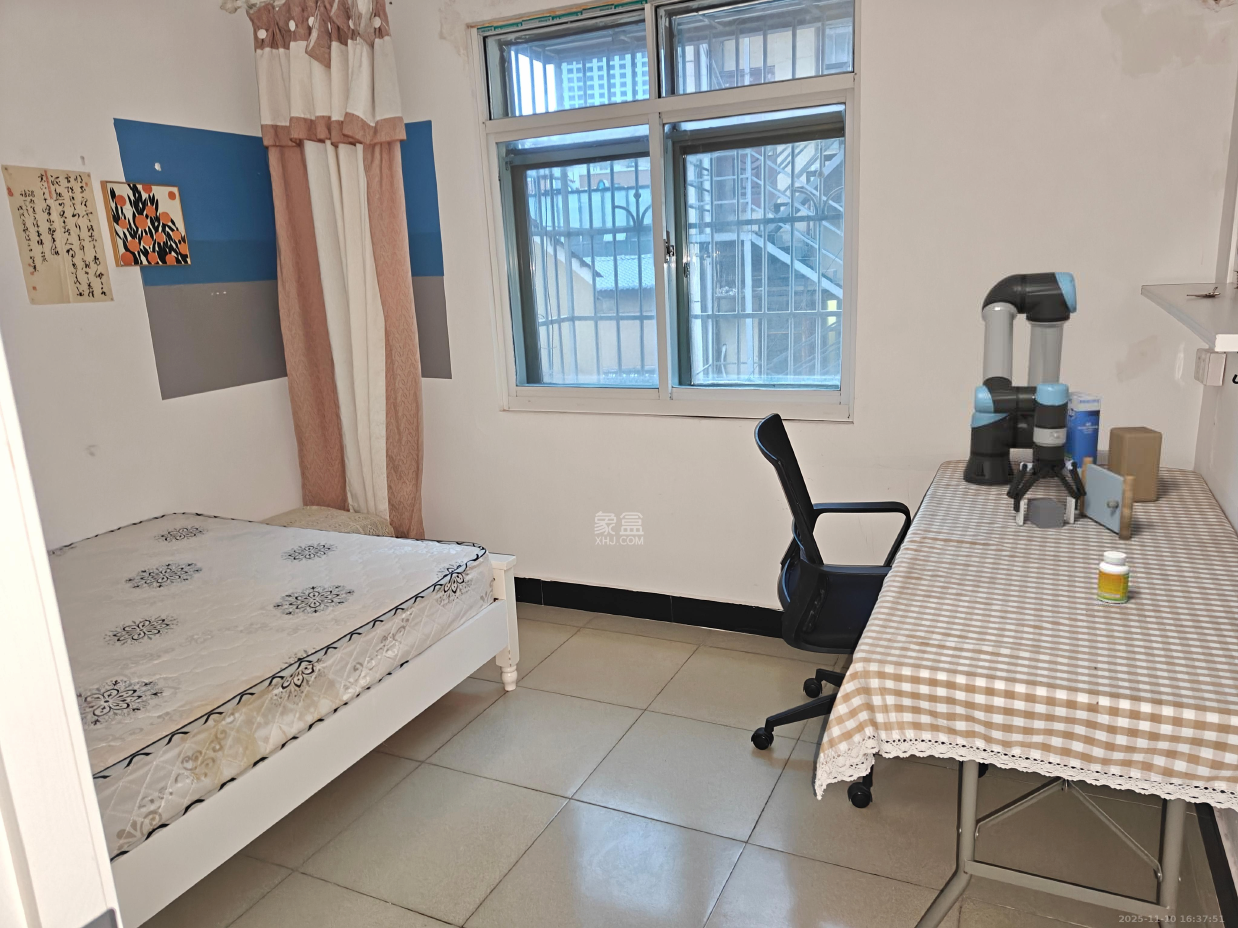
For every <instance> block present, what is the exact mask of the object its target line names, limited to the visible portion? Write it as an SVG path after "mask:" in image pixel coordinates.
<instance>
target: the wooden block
mask: <svg viewBox="0 0 1238 928" xmlns="http://www.w3.org/2000/svg"><path fill="white" fill-rule="evenodd" d="M1108 439H1109V440H1108V451H1107V463H1106V464H1107V465H1106V470H1107V471H1110V472H1112V473H1114V474H1116V475H1119V476H1121V477H1123V478H1124V475H1134V476H1135V488H1134V500H1133V503H1141V502H1144V503H1146V502H1156V500H1157V497H1158V496H1157V495H1158V487H1159V477H1160V476H1159V475H1160V465H1161V454H1162V444H1163V443H1162V442H1163V434H1162V432H1160V431H1157V430H1154V429H1152V428H1149V427H1146V426H1123V427H1121V426H1119V427H1118V426H1117V427H1112V428H1110V430H1109V438H1108Z"/></svg>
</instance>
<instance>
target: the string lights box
mask: <svg viewBox="0 0 1238 928" xmlns="http://www.w3.org/2000/svg"><path fill="white" fill-rule="evenodd" d="M1101 402H1102V396H1100V395H1094V394H1092V393H1091V394H1090V393H1086V392H1081V391H1069V400H1068V412H1067V415H1068V420H1067V429H1066V442H1064V443H1063V444H1064V445H1065V458H1064V461H1065V462H1067V461H1069V460H1073V461H1075V462H1077V471H1078V473H1079V476H1080V478H1081V476H1082V461H1083V457H1093V464H1094V465H1096V466H1097V463H1098V462H1097V461H1098V451H1099V450H1098V447H1099V431H1100V418H1101V417H1100V416H1101V404H1102V403H1101ZM1061 472H1062V473H1063V475H1064V476H1066V475H1067V476H1066V477H1068V478H1071V475H1070V473H1069V470H1068V469H1067V468H1066V466H1065V468H1064V469H1063V470H1062V471H1061Z"/></svg>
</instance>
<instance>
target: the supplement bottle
mask: <svg viewBox="0 0 1238 928" xmlns="http://www.w3.org/2000/svg"><path fill="white" fill-rule="evenodd" d="M1127 557H1128V556H1127V554H1125V553H1124V552H1120V551H1114V550H1113V551H1112V550H1109V551H1105V552H1103V557H1102V558H1103V561H1102V562H1100V563H1099V565H1098V573H1097V574H1098V575H1097V587H1096V598H1097V599H1098V600H1099V601H1101V600H1102V602H1104V603H1107V602H1108V604H1114V603H1120V604H1124V603H1126V602H1127V600H1128V595H1129V594H1128V592H1129V583H1130V582H1129V581H1130V567H1129V566H1128V564H1126V563H1127Z"/></svg>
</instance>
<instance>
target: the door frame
mask: <svg viewBox="0 0 1238 928" xmlns="http://www.w3.org/2000/svg"><path fill="white" fill-rule="evenodd" d="M1087 464H1093V457H1083V461H1082V476H1081V481H1082V483H1083V485H1084V488H1086V474H1087ZM1134 488H1135V476H1134V475H1124V481H1123V493H1122V505H1121V517H1120V529H1119V532H1118V539H1119V540H1121V541H1130V540H1131V532H1132V524H1133V523H1132V521H1133V509H1134V502H1133V500H1134ZM1084 502H1085V496H1082V497H1081V498H1080V499H1079V503H1078V516H1080V517H1084V518H1085V517H1086V518H1087V517H1088V516H1087V515H1086V514H1084Z"/></svg>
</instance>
